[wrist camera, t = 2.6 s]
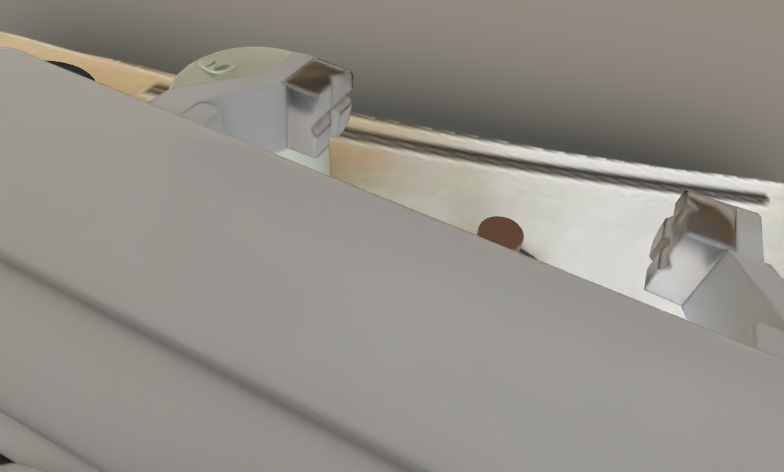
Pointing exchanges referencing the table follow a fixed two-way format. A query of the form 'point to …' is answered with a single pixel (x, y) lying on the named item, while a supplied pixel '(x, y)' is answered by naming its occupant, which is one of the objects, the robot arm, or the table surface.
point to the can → (241, 65)
